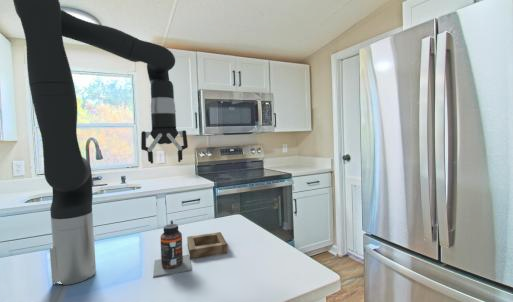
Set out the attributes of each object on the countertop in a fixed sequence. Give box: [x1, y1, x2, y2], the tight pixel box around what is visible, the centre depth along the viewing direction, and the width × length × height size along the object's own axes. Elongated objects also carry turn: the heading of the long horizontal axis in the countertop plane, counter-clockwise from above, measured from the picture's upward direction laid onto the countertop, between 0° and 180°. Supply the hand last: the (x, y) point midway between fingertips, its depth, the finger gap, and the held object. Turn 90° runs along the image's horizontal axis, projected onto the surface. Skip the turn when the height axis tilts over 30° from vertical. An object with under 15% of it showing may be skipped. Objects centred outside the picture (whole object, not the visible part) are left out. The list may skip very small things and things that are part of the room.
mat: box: [152, 254, 193, 279], centre depth 78 cm, size 10×10×1 cm
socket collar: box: [186, 231, 229, 261], centre depth 89 cm, size 12×12×3 cm
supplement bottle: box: [159, 223, 184, 268], centre depth 78 cm, size 6×6×11 cm
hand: (165, 162), depth 89 cm, fingers open, 8 cm apart
